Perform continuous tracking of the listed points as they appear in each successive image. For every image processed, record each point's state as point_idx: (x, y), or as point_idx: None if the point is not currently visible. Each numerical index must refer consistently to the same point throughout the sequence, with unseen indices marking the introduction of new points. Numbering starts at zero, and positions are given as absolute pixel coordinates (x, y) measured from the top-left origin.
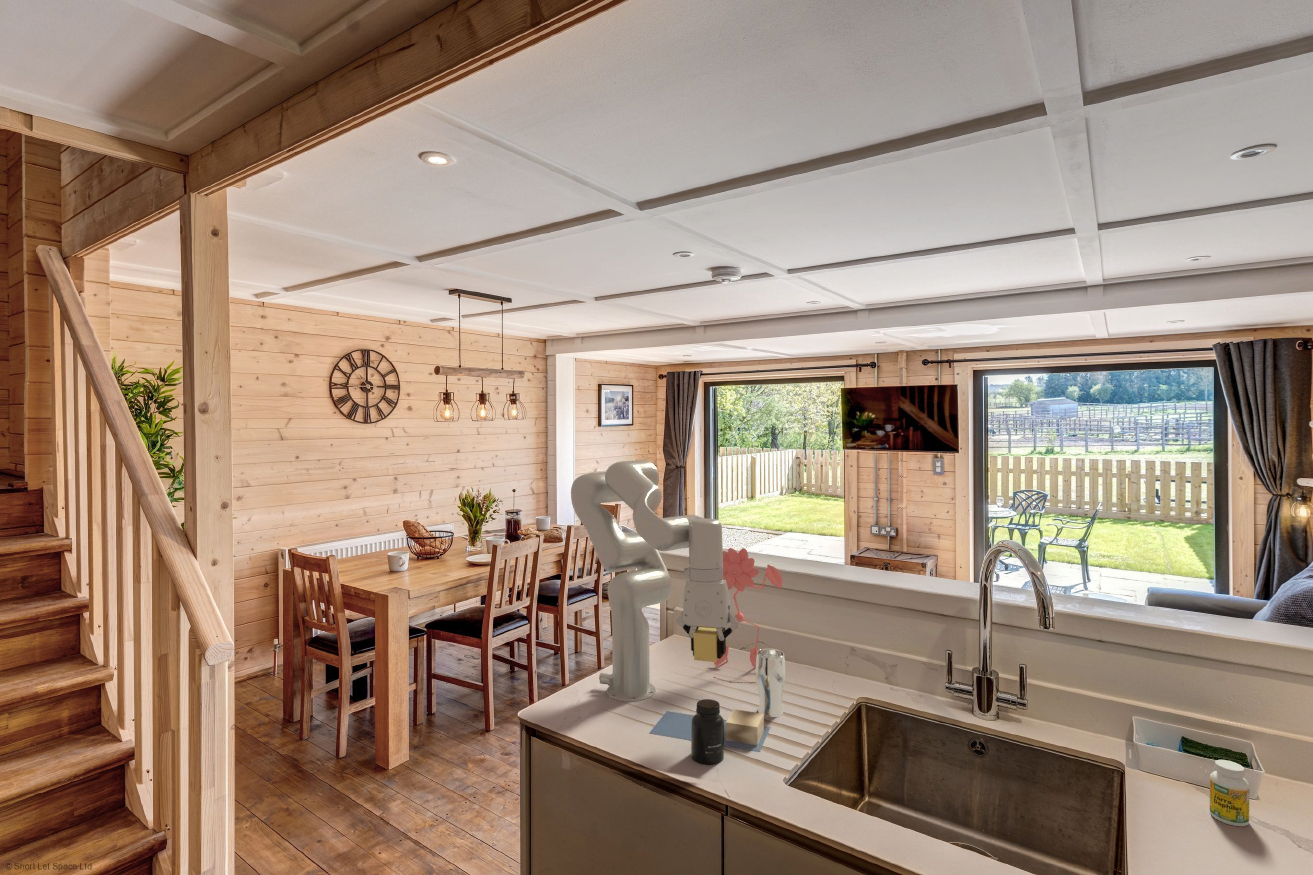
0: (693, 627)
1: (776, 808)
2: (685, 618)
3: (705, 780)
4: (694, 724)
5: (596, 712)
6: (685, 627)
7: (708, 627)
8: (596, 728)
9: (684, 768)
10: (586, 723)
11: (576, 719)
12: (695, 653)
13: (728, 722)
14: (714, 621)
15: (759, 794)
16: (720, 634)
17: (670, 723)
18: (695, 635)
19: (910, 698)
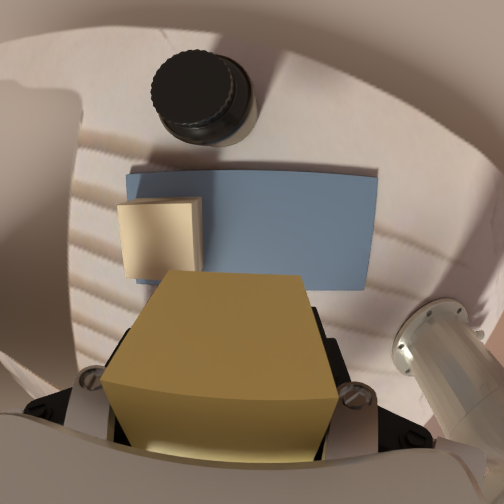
0: (349, 455)
1: (88, 37)
2: (467, 495)
3: (206, 46)
4: (235, 61)
5: (475, 250)
6: (416, 438)
7: (144, 451)
8: (466, 188)
9: (259, 69)
10: (481, 203)
11: (494, 214)
12: (296, 293)
13: (184, 204)
14: (37, 483)
15: (111, 53)
16: (90, 401)
17: (344, 236)
18: (313, 380)
19: (46, 395)
